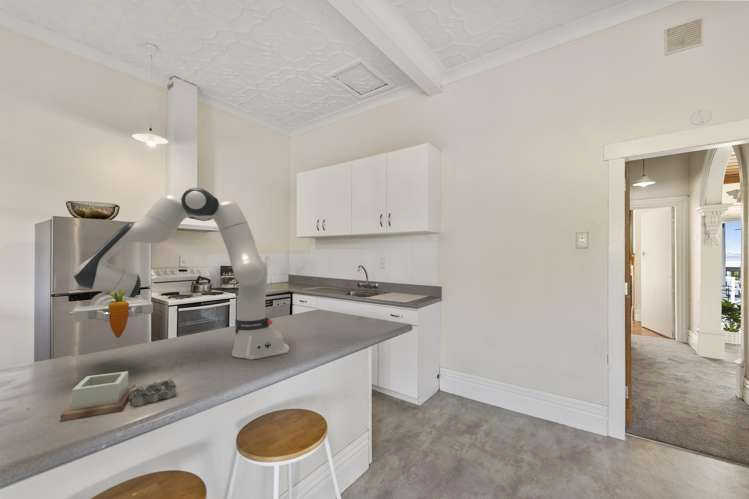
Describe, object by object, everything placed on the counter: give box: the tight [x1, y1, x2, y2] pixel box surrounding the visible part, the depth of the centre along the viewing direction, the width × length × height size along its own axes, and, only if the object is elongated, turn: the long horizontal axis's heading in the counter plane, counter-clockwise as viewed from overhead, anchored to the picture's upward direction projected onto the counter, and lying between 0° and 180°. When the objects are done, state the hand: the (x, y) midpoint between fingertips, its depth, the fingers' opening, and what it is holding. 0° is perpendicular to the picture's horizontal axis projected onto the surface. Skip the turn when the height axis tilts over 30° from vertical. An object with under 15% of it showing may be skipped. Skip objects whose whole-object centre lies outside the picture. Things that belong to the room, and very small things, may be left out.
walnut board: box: [60, 384, 136, 422], centre depth 86 cm, size 12×14×2 cm
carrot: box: [109, 289, 129, 338], centre depth 99 cm, size 5×5×15 cm
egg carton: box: [129, 377, 178, 407], centre depth 90 cm, size 11×8×4 cm
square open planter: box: [71, 370, 129, 410], centre depth 86 cm, size 9×9×5 cm
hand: (119, 314), depth 98 cm, fingers closed on carrot, 5 cm apart
